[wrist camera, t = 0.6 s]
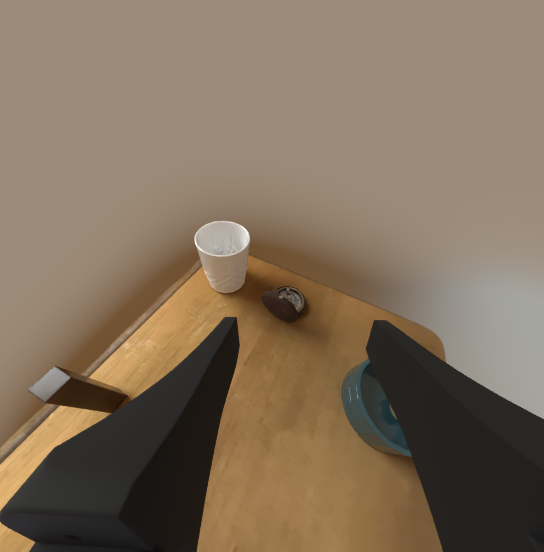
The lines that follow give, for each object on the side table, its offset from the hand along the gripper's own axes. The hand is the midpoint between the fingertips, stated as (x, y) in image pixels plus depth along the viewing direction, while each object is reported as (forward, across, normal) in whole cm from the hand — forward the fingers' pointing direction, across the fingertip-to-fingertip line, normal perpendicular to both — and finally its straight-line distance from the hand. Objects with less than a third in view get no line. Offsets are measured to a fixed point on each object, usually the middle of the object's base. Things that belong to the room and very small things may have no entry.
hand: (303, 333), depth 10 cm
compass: (+21, +1, +12) cm, 24 cm away
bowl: (+8, -12, +20) cm, 25 cm away
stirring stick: (+5, +21, +16) cm, 27 cm away
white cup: (+24, +11, +9) cm, 28 cm away
